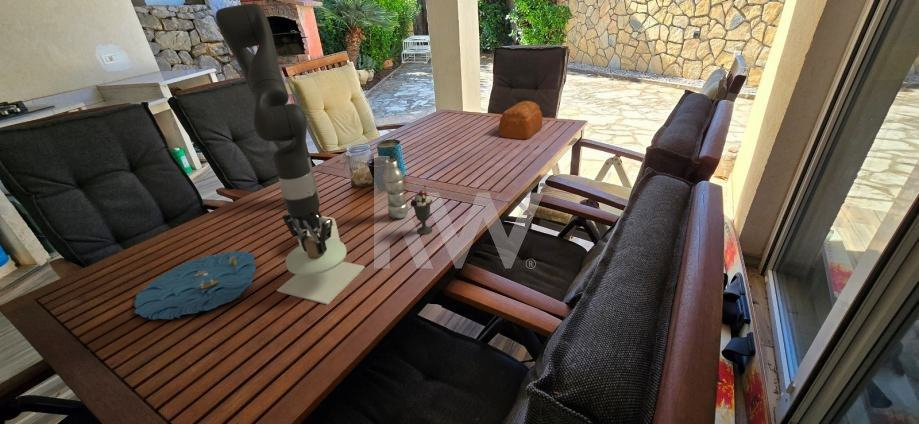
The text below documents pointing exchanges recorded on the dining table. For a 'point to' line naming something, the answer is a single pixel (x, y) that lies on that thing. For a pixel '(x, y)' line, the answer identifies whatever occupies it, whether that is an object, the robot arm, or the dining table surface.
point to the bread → (521, 121)
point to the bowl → (333, 231)
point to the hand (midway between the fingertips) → (315, 251)
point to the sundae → (422, 211)
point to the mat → (322, 283)
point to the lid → (315, 257)
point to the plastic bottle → (395, 190)
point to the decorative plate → (197, 286)
